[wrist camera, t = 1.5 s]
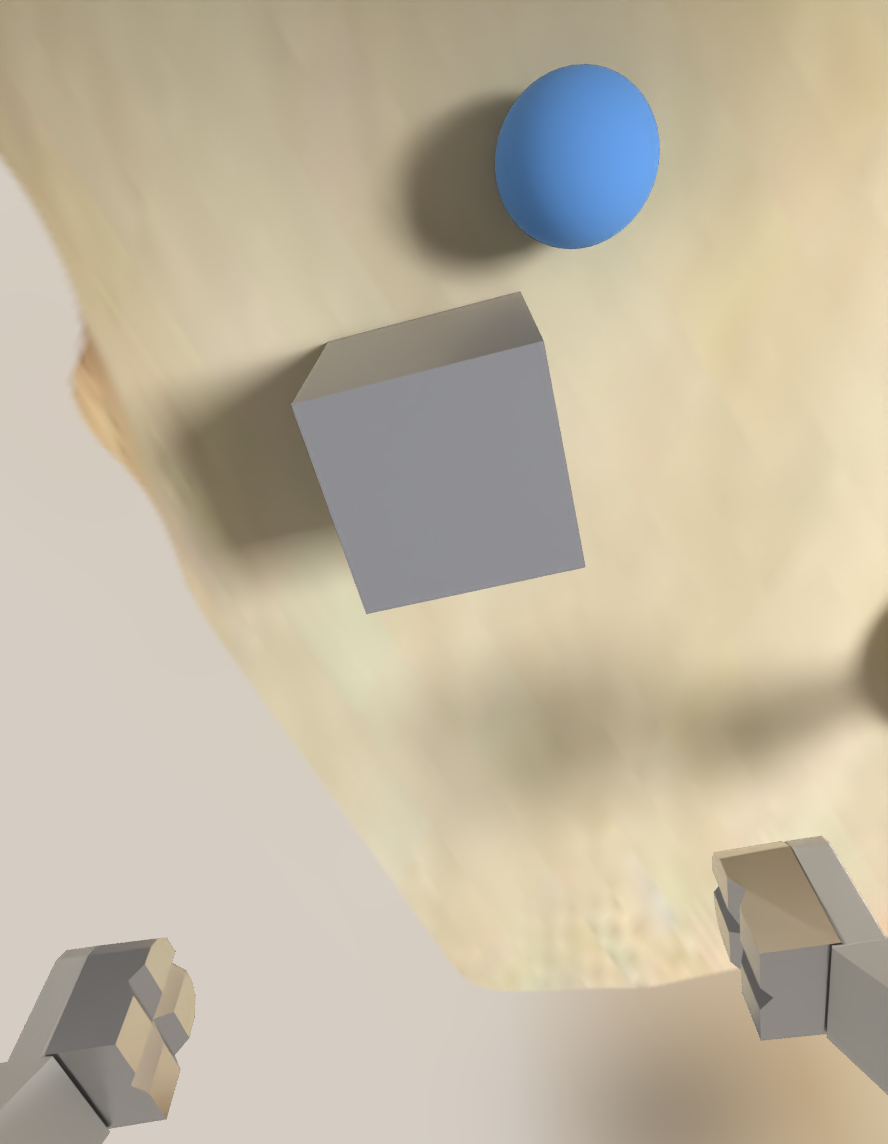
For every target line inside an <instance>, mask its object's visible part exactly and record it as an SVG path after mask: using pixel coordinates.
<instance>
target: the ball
mask: <svg viewBox="0 0 888 1144" xmlns="http://www.w3.org/2000/svg"><path fill="white" fill-rule="evenodd" d="M659 152H660V148H659V135H658V129H657V125H656V122H655V118H654V115H653V113H652V111H651V108H650V106H649V104H648V103H647V101H646V99H645V98H644V96H643V95H642V93H641V92H640V91H639V90H638V89H637V87H636V86H635V85H634V84H633V83H631V82H630V81H629V80H628V79H627V78H625V77H624V76H622V75H621V74H619V73H617V72H615V71H613V70H611V69H608V68H605V67H601V66H597V65H588V64H582V65H571V66H566V67H562V68H559V69H557V70H554V71H551V72H549V73H548V74H546V75H544V76H542V77H540V78H539V79H538V80H536V81H535V82H534V83H532V84H531V85H530V86H529V87H528V88H527V89H526V90H525V91H524V92H523V93H522V94H521V95H520V96H519V98H518V99H517V100H516V101H515V102H514V104H513V106H512V107H511V109H510V110H509V112H508V114H507V116H506V118H505V120H504V122H503V125H502V127H501V130H500V133H499V137H498V141H497V146H496V154H495V175H496V183H497V187H498V191H499V195H500V197H501V200H502V202H503V205H504V207H505V208H506V210H507V212H508V214H509V215H510V217H511V218H512V219H513V221H514V222H515V223H516V224H517V225H518V227H519V228H520V229H521V230H522V231H524V232H525V233H526V234H528V235H529V236H530V237H532V238H533V239H535V240H537V241H539V242H541V243H544V244H546V245H549V246H552V247H557V248H563V249H579V248H585V247H590V246H593V245H596V244H599V243H601V242H603V241H605V240H607V239H609V238H611V237H612V236H614V235H615V234H617V233H618V232H620V231H621V230H622V229H623V228H624V227H626V226H627V225H628V224H629V223H630V222H631V221H632V220H633V218H634V217H635V216H636V215H637V214H638V212H639V211H640V210H641V208H642V207H643V205H644V203H645V202H646V200H647V198H648V196H649V194H650V192H651V189H652V187H653V184H654V181H655V178H656V174H657V169H658V164H659Z"/></svg>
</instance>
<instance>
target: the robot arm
mask: <svg viewBox="0 0 888 1144" xmlns="http://www.w3.org/2000/svg"><path fill="white" fill-rule="evenodd" d="M712 869H713V873H714V876H715V878H716V881H717V883H718V888H717V889H716V890H715V891H714V901H715V910H716V915H717V920H718V925H719V929H720V933H721V936H722V939H723V942H724V945H725V948H726V951H727V953H728V956H729V959H730V962H732V963H733V964H734V965H735V966H737V967H738V968H739V969H740V970H741V974H742V993H743V996H744V998H745V1001H746V1003H747V1006H748V1009H749V1011H750V1014H751V1016H752V1019H753V1022H754V1024H755V1026H756V1029H757V1032H758V1034H759V1037H760V1039H761V1040H771V1039H782V1038H791V1037H801V1036H810V1035H820V1034H827V1038H828V1039H829V1040H830V1041H831V1042H832V1043H833V1044H834V1045H835V1046H836V1047H837V1048H838V1049H839V1050H840V1051H842V1052H843V1053H844V1054H845V1055H846V1056H847V1057H848V1058H849V1059H850V1060H851V1061H852V1062H853V1063H854V1064H855V1065H857V1066H858V1067H859V1068H860V1069H861V1070H862V1071H863V1072H864V1073H865V1074H866V1075H867V1076H868V1077H870V1079H871V1080H873V1081H874V1082H875V1083H876V1084H877V1085H878V1086H879V1087H880V1088H881V1089H882V1090H883V1091H884V1092H886V1093H887V1095H888V938H886V936H885V934H884V933H883V931H882V929H881V928H880V926H879V924H878V923H877V921H876V919H875V918H874V916H873V914H872V913H871V911H870V909H869V908H868V906H867V904H866V903H865V901H864V900H863V898H862V896H861V895H860V893H859V891H858V890H857V888H856V886H855V885H854V883H853V881H852V880H851V878H850V876H849V875H848V873H847V871H846V870H845V868H844V866H843V865H842V863H841V861H840V860H839V858H838V856H837V855H836V853H835V851H834V850H833V848H832V846H831V845H830V843H829V841H827V840H826V839H825V838H824V837H822V836H817V837H810V838H804V839H797V840H791V841H785V842H783V841H779V842H773V843H767V844H761V845H755V846H749V847H743V848H737V849H731V850H725V851H719V852H714V853H713V857H712ZM175 952H176V951H175V950H174V948H173V947H172V945H171V943H170V942H169V940H168V939H167V938H158V939H150V940H141V941H133V942H125V943H117V944H109V945H101V946H93V947H87V948H79V949H72V950H66V951H65V952H64V953H63V954H62V955H61V956H60V957H59V958H58V959H57V961H56V962H55V964H54V966H53V968H52V970H51V972H50V974H49V977H48V979H47V981H46V983H45V985H44V987H43V989H42V991H41V993H40V995H39V997H38V999H37V1002H36V1004H35V1006H34V1008H33V1010H32V1012H31V1014H30V1016H29V1018H28V1020H27V1022H26V1024H25V1026H24V1029H23V1031H22V1033H21V1035H20V1037H19V1039H18V1041H17V1043H16V1045H15V1047H14V1049H13V1052H12V1054H11V1056H10V1058H9V1060H8V1062H4V1063H0V1144H102V1143H103V1141H104V1140H105V1139H106V1137H107V1136H108V1134H109V1133H110V1131H109V1129H110V1128H116V1127H122V1126H128V1125H134V1124H140V1123H146V1122H153V1121H159V1120H164V1119H167V1115H168V1112H169V1108H170V1105H171V1101H172V1098H173V1094H174V1091H175V1087H176V1084H177V1080H178V1077H179V1073H180V1067H179V1065H178V1063H177V1060H176V1057H175V1054H176V1053H177V1052H178V1051H179V1049H180V1048H181V1047H182V1046H183V1045H184V1043H185V1042H186V1041H187V1040H188V1039H189V1037H190V1033H191V1030H192V1026H193V1022H194V1018H195V992H194V987H193V983H192V980H191V978H190V976H189V974H188V973H187V971H186V970H185V969H183V968H181V967H179V966H177V965H176V964H174V963H172V961H173V958H174V955H175Z"/></svg>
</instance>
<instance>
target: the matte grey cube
mask: <svg viewBox="0 0 888 1144" xmlns="http://www.w3.org/2000/svg"><path fill="white" fill-rule="evenodd" d="M291 406H292V409H293V412H294V415H295V418H296V420H297V423H298V426H299V429H300V431H301V434H302V437H303V440H304V442H305V445H306V448H307V451H308V454H309V456H310V459H311V462H312V465H313V467H314V470H315V473H316V476H317V479H318V481H319V484H320V487H321V490H322V492H323V495H324V498H325V501H326V503H327V506H328V509H329V512H330V515H331V517H332V520H333V523H334V526H335V528H336V531H337V534H338V537H339V539H340V542H341V545H342V548H343V551H344V553H345V556H346V559H347V562H348V564H349V567H350V570H351V573H352V576H353V578H354V581H355V584H356V587H357V589H358V592H359V595H360V598H361V600H362V603H363V606H364V609H365V612H366V614H369V613H374V612H378V611H383V610H388V609H392V608H397V607H402V606H406V605H411V604H416V603H420V602H425V601H430V600H434V599H439V598H444V597H448V596H453V595H458V594H463V593H467V592H472V591H477V590H481V589H486V588H491V587H495V586H500V585H505V584H509V583H514V582H519V581H523V580H528V579H533V578H537V577H542V576H547V575H551V574H556V573H561V572H565V571H570V570H575V569H579V568H584V567H585V562H584V556H583V551H582V545H581V540H580V535H579V529H578V524H577V518H576V513H575V508H574V502H573V497H572V491H571V486H570V481H569V475H568V470H567V464H566V459H565V454H564V448H563V443H562V437H561V432H560V427H559V421H558V416H557V411H556V405H555V400H554V394H553V389H552V384H551V378H550V373H549V367H548V362H547V357H546V351H545V346H544V341H543V338H542V336H541V334H540V332H539V330H538V328H537V326H536V324H535V322H534V319H533V317H532V315H531V313H530V311H529V309H528V307H527V305H526V303H525V300H524V298H523V296H522V294H521V292H517V293H513V294H509V295H505V296H502V297H498V298H494V299H490V300H486V301H482V302H479V303H475V304H471V305H467V306H463V307H460V308H456V309H452V310H448V311H444V312H441V313H437V314H433V315H429V316H425V317H421V318H418V319H414V320H410V321H406V322H402V323H399V324H395V325H391V326H387V327H383V328H380V329H376V330H372V331H368V332H364V333H361V334H357V335H353V336H349V337H345V338H341V339H338V340H334V341H330V342H328V343H327V344H326V346H325V348H324V350H323V351H322V353H321V355H320V356H319V358H318V360H317V361H316V363H315V365H314V366H313V368H312V370H311V372H310V373H309V375H308V377H307V378H306V380H305V382H304V383H303V385H302V387H301V388H300V390H299V392H298V394H297V395H296V397H295V399H294V400H293V402H292V404H291Z"/></svg>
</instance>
